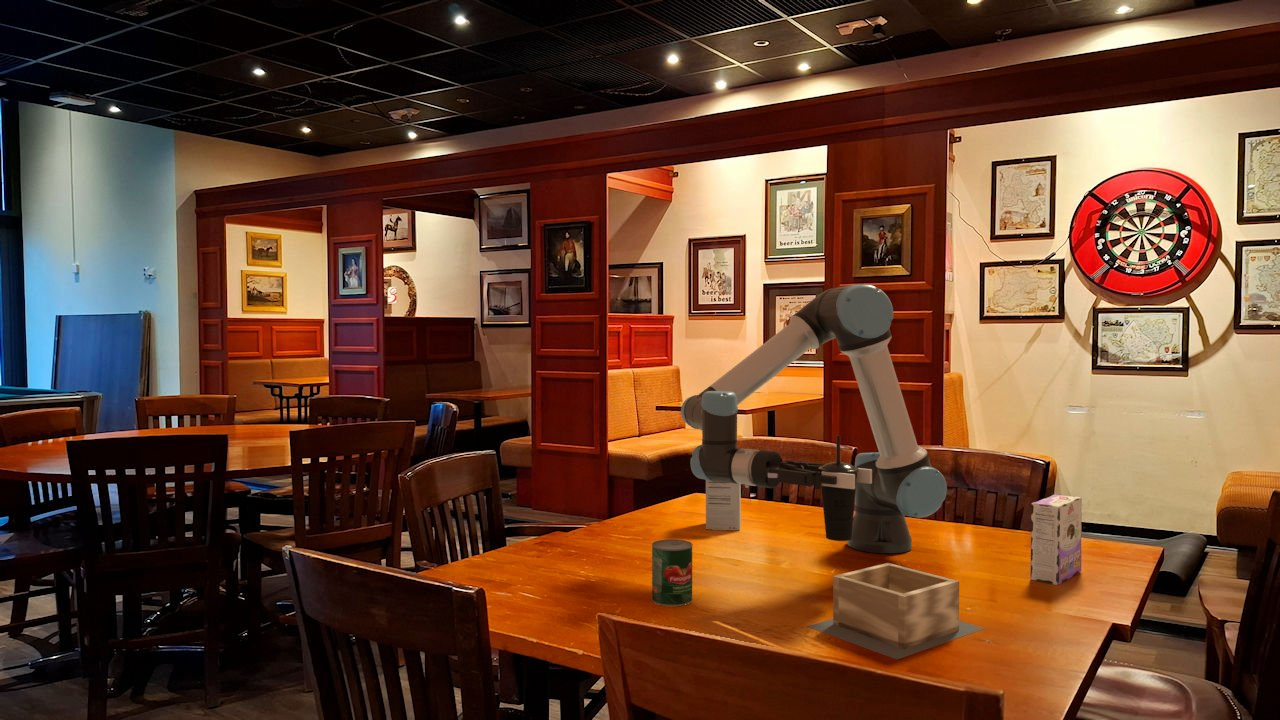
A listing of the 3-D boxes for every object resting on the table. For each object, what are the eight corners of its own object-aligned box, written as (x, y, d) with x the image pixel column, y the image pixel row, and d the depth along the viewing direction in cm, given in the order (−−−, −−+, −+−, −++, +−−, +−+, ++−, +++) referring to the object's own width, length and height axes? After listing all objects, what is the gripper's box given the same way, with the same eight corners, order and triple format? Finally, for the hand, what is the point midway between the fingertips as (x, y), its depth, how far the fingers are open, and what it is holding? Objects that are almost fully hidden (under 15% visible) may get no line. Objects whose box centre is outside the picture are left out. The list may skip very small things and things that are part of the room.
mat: (894, 603, 162) (894, 601, 162) (985, 630, 146) (985, 628, 146) (806, 628, 148) (806, 626, 148) (896, 661, 132) (897, 659, 132)
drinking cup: (813, 534, 168) (813, 433, 168) (851, 532, 169) (851, 432, 168) (825, 543, 161) (824, 438, 160) (864, 542, 161) (864, 437, 161)
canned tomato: (679, 609, 158) (679, 550, 158) (644, 602, 163) (643, 545, 162) (699, 598, 165) (699, 542, 165) (664, 592, 169) (664, 537, 169)
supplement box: (707, 522, 234) (707, 461, 233) (741, 523, 233) (741, 462, 232) (705, 530, 224) (705, 467, 224) (740, 531, 223) (740, 467, 223)
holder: (887, 608, 157) (887, 562, 157) (959, 630, 145) (959, 581, 145) (833, 624, 149) (833, 576, 148) (904, 649, 136) (904, 596, 136)
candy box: (1053, 567, 187) (1054, 493, 186) (1082, 572, 182) (1083, 496, 182) (1029, 580, 177) (1029, 501, 177) (1058, 585, 173) (1059, 505, 172)
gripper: (782, 480, 184) (884, 491, 169) (732, 493, 168) (839, 506, 154) (782, 445, 183) (884, 453, 169) (732, 455, 168) (839, 465, 154)
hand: (862, 479), depth 161 cm, fingers closed on drinking cup, 7 cm apart
